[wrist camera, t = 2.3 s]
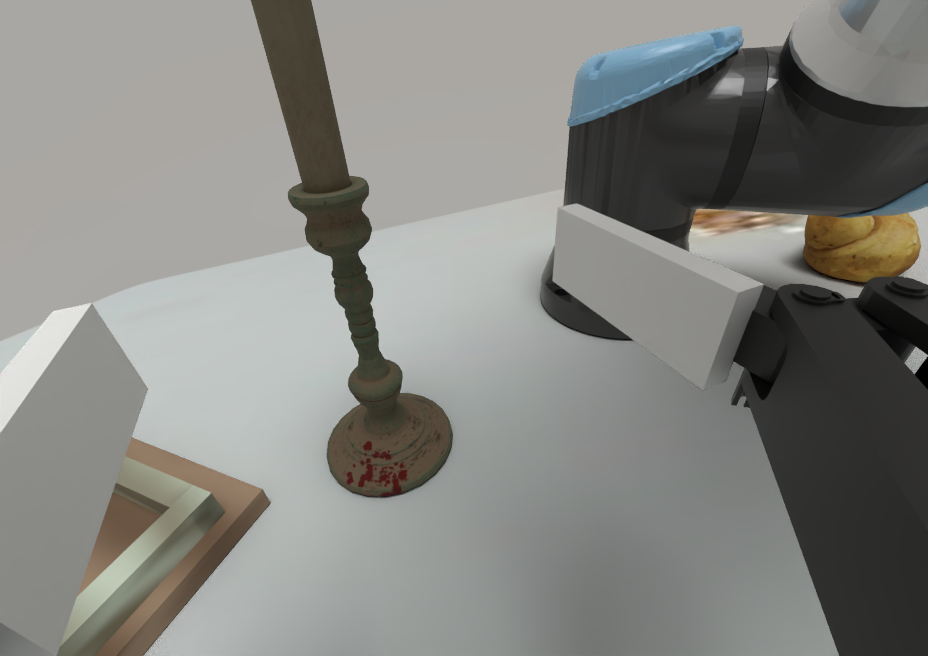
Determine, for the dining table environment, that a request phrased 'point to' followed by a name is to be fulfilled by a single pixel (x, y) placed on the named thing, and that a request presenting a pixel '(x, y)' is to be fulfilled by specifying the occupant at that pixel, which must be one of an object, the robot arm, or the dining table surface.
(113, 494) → the railed board
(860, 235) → the potato
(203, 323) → the dining table surface
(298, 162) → the candlestick holder
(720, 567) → the dining table surface
